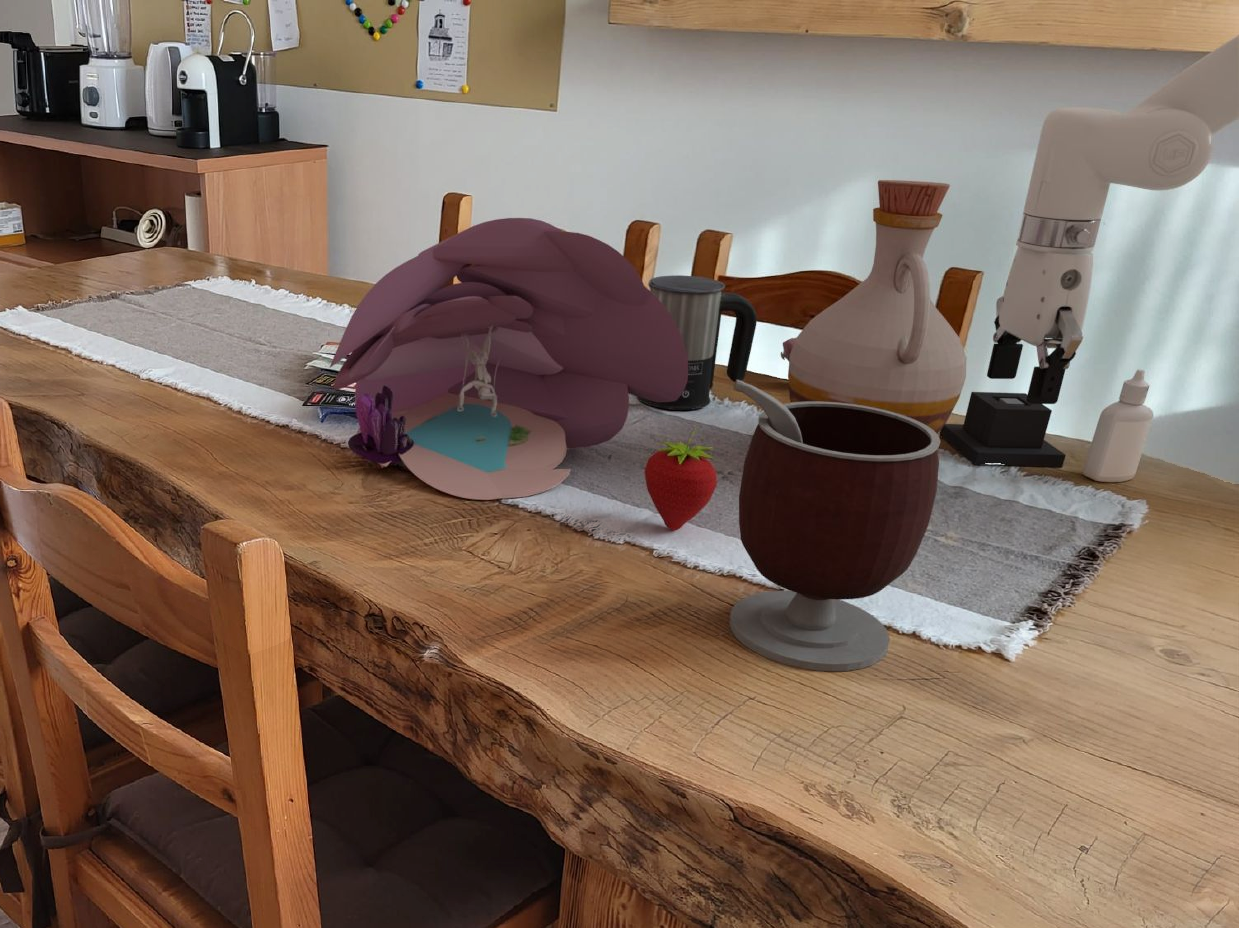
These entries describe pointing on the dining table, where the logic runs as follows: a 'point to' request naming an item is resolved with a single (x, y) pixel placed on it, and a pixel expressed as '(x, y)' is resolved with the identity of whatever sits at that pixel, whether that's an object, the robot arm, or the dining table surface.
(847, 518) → the mate gourd
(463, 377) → the purple rock cave
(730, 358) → the milk frother
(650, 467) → the strawberry
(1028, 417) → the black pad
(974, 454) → the base pad
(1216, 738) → the dining table surface
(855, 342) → the jug
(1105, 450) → the eye dropper bottle
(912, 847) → the dining table surface
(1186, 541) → the dining table surface
